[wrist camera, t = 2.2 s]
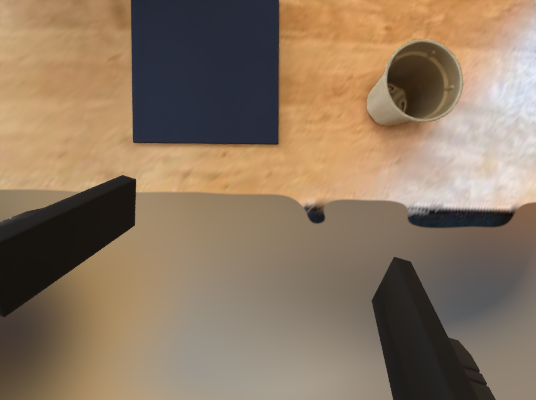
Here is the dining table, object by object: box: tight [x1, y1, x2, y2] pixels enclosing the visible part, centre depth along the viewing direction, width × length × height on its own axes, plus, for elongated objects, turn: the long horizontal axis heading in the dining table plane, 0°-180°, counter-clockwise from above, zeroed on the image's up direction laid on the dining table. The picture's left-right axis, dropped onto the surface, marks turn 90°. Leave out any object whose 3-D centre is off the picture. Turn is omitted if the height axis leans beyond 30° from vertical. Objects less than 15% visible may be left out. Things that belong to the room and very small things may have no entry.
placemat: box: [131, 0, 279, 144], centre depth 38 cm, size 20×20×1 cm
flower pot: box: [367, 39, 463, 126], centre depth 35 cm, size 9×9×9 cm
